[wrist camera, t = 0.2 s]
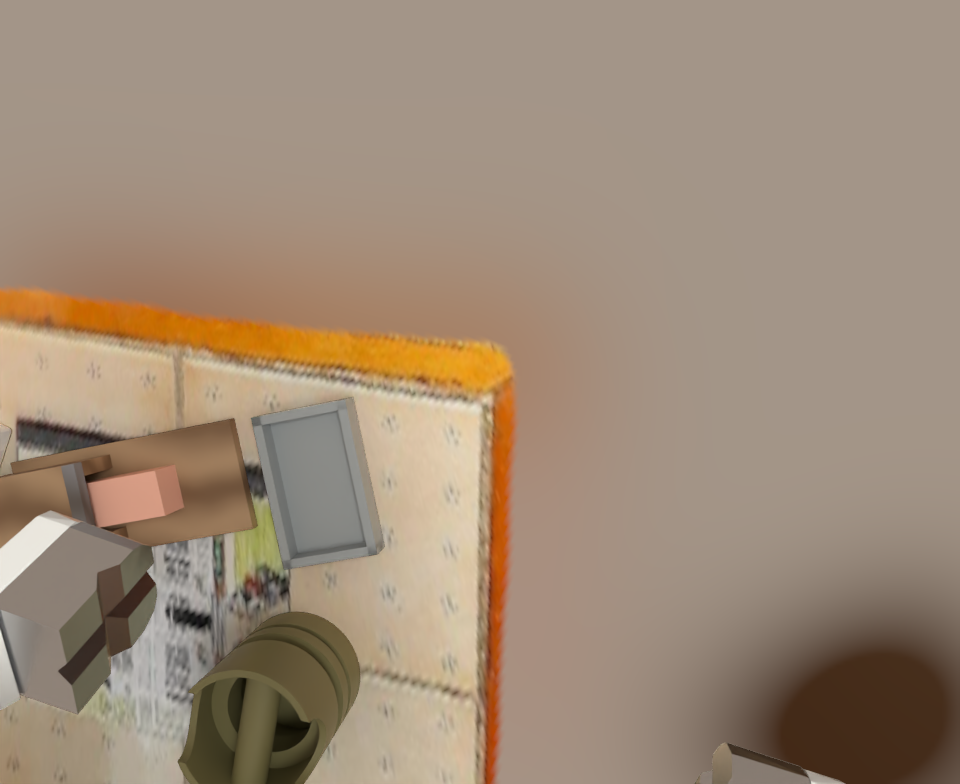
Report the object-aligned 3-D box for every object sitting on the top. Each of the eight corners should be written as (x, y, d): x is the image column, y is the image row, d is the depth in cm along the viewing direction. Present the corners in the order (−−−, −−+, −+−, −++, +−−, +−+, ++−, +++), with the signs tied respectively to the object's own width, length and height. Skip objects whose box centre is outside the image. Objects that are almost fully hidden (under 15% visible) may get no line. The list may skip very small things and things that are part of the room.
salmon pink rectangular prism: (184, 507, 68) (165, 515, 65) (85, 525, 69) (61, 534, 66) (174, 464, 68) (154, 470, 64) (75, 483, 69) (51, 490, 66)
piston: (325, 689, 56) (301, 829, 57) (369, 627, 67) (349, 744, 69) (183, 655, 57) (163, 792, 58) (251, 599, 69) (233, 715, 70)
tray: (384, 546, 67) (377, 554, 64) (294, 561, 68) (283, 569, 65) (353, 396, 66) (344, 399, 64) (262, 415, 67) (250, 417, 65)
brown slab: (257, 525, 68) (227, 544, 62) (42, 563, 71) (-7, 584, 65) (234, 418, 68) (201, 426, 62) (18, 461, 71) (-33, 472, 65)
